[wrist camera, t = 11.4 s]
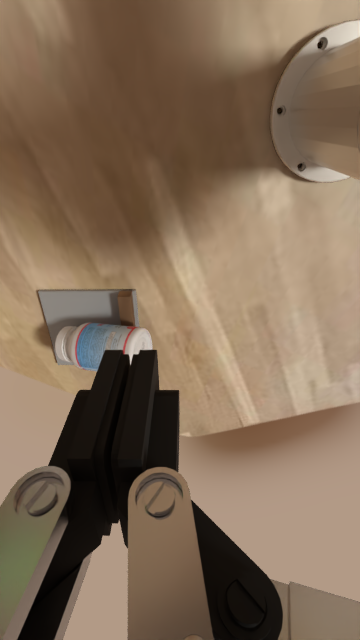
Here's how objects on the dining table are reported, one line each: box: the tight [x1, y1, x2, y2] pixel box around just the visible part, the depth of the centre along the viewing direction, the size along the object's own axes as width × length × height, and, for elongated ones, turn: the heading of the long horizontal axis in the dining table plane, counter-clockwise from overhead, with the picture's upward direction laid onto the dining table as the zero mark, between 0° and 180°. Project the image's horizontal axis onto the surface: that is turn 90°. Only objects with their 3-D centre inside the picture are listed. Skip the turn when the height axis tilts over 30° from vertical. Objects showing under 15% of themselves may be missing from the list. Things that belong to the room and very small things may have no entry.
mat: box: [38, 290, 139, 365], centre depth 45 cm, size 12×12×1 cm
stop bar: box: [117, 290, 136, 327], centre depth 44 cm, size 2×12×2 cm, turn 1°
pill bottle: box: [55, 323, 152, 372], centre depth 41 cm, size 6×6×11 cm
